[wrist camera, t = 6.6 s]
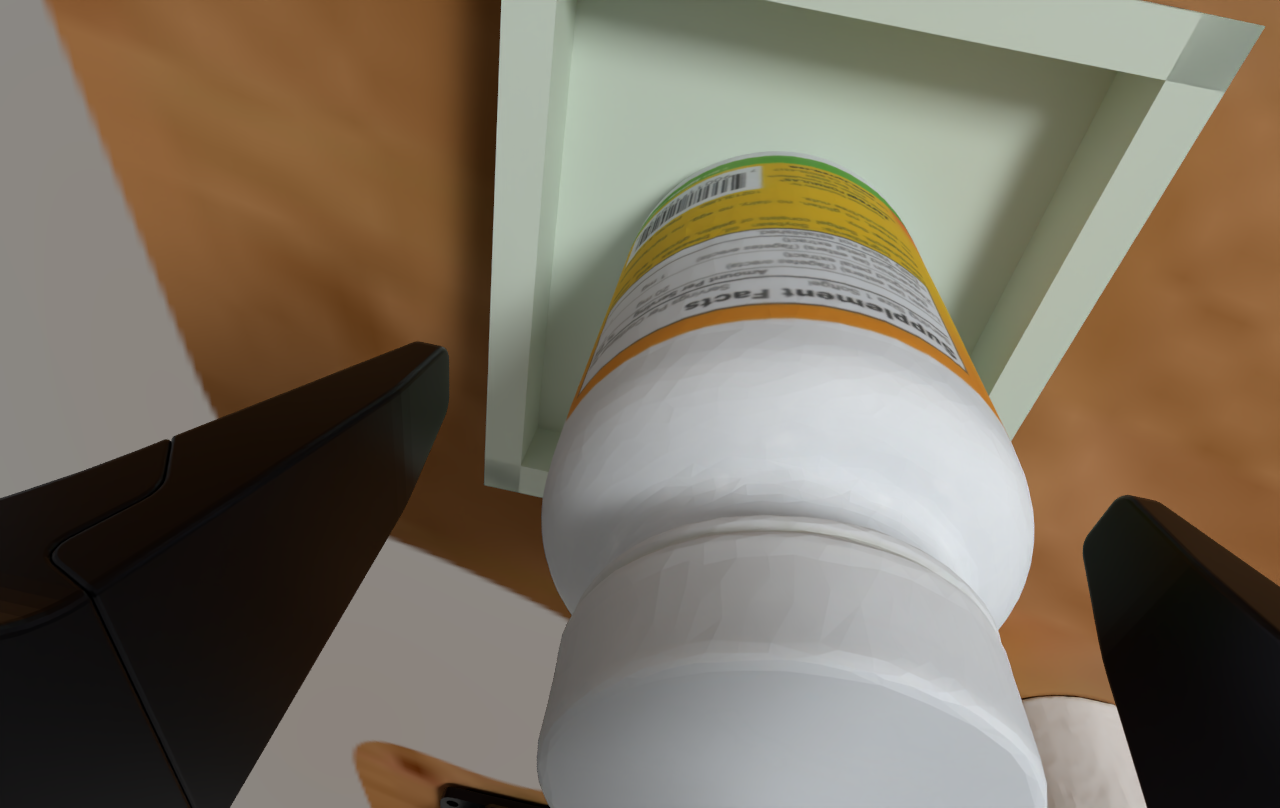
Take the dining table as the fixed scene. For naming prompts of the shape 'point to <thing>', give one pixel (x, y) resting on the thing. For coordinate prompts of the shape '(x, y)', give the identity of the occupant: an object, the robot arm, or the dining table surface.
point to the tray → (836, 159)
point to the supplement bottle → (784, 520)
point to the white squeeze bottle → (1083, 753)
